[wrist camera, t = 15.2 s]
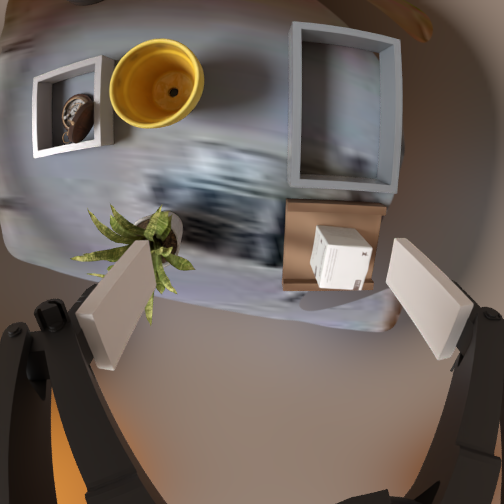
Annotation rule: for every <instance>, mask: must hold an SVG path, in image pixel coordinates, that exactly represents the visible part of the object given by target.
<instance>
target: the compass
mask: <svg viewBox="0 0 504 504" xmlns="http://www.w3.org/2000/svg"><path fill="white" fill-rule="evenodd" d="M62 123H63V125H64V128H65V129H66V130H67V131H68V132H65V133H67V134H66V135H67V136H68V139H69V142H70V141H71V142H73V143H75V144H76V143H78V142H81V141H82V140H83V139H84V138H85V137H86V136H87V135H88V133H89V132H90V130H91V128H92V127H93V124H94V102H93V101H92V99H91V98H90V97H89V96H87V95H85V94H77V95H74V96H72V97H71V98H70V99H69V100H68V101H67V102H66V104H65V105H64V107H63V111H62ZM65 133H64V134H65ZM64 134H63V137H64ZM63 137H62V139H63ZM63 142H64V140H63ZM69 142H67V143H69ZM64 143H66V142H64ZM67 143H66V144H67Z"/></svg>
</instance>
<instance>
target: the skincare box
mask: <svg viewBox="0 0 504 504" xmlns="http://www.w3.org/2000/svg"><path fill="white" fill-rule="evenodd" d="M372 250H373V248H372V247H371V246H370V244H369V243H368V242H367V241H366V240H365V239H364V238H363V237H362V236H361V235H360V233H359V232H358V231H357V230H356V229H354V228H343V227H333V226H323V225H317V226H316V233H315V239H314V245H313V251H312V255H311V259H310V265H311V267H312V270H313V272H314V275H315V278H316V280H317V283H318V285H319V288H328V289H348V290H362V287H363V284H364V281H365V278H366V274H367V272H368V268H369V263H370V259H371V254H372Z"/></svg>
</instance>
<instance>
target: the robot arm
mask: <svg viewBox="0 0 504 504" xmlns="http://www.w3.org/2000/svg"><path fill="white" fill-rule="evenodd" d="M67 1H69V2H71V3H73V4H75V5H90V4H94V3H97V2H100V1H102V0H67ZM386 283H387V284H388V286H389V287H390V289H391V290H392V292H393V293H394V294H395V296H396V297H397V299H398V300H399V302H400V303H401V304H402V306H403V307H404V309H405V310H406V312H407V313H408V315H409V316H410V318H411V319H412V321H413V322H414V324H415V325H416V327H417V328H418V330H419V331H420V333H421V334H422V336H423V338H424V339H425V340H426V342H427V344H428V345H429V347H430V349H431V350H432V352H433V353H434V355H435V357H436V358H437V360H441V359H445V358H450V357H451V356H452V354H453V352H454V350H455V347H457V348H458V349H459V351H460V353H459V355H458V357H457V359H456V361H455V363H454V365H453V367H452V368H451V370H450V371H451V372H452V371H453V369H454V372H453V377H452V381H451V385H450V388H449V392H448V396H447V399H446V402H445V406H444V409H443V412H442V415H441V418H440V421H439V424H438V427H437V430H436V433H435V436H434V438H433V441H432V443H431V446H430V449H429V451H428V454H427V456H426V458H425V461H424V463H423V465H422V467H421V470H420V472H419V474H418V476H417V478H416V480H415V482H414V484H413V486H412V487H411V489H410V490H409V491H408V492H407V494H406V495H405V496H404V498H403V497H393V496H389V492H388V490H387V489H386V490H382V491H378V492H374V493H370V494H366V495H361V496H356V497H351V498H349V499H346V500H344V501H342V502H339V503H337V504H491V502H492V499H493V495H494V492H495V488H496V485H497V481H498V477H499V473H500V468H501V459H500V457H497V456H494V450H495V445H496V440H497V434H498V428H499V421H500V428H501V444H502V483H501V504H504V319H503V318H502V316H501V315H500V313H498V312H497V311H496V310H494V309H492V308H489V307H482V308H481V307H480V306H479V305H478V304H477V303H476V302H475V301H474V300H473V299H472V298H471V297H470V296H469V295H468V294H467V293H466V292H465V291H464V290H462V288H461V287H460V286H459V285H458V284H457V283H456V282H455V281H453V280H451V279H450V278H448V277H447V276H446V275H445V274H444V273H443V272H442V271H441V270H440V269H439V268H438V267H437V266H436V265H435V264H434V263H432V262H431V260H429V259H428V258H427V257H426V256H425V255H424V254H423V253H422V252H421V251H420V250H419V249H418V248H416V247H415V246H414V245H413V244H412V243H411V242H410V241H409V240H407V239H406V238H394V243H393V249H392V254H391V260H390V265H389V270H388V274H387V279H386ZM156 286H157V285H156V280H155V275H154V269H153V264H152V258H151V252H150V245H149V240H136V241H135V242H134V243H133V244H132V245H131V246H130V247H129V248H128V250H127V251H126V252H125V253H124V254H123V255H122V256H121V258H120V259H119V260H118V261H117V262H116V263H115V265H114V266H113V267H112V268H111V269H110V270H109V272H108V273H107V274H106V275H105V276H104V278H103V279H102V280H101V281H100V282H99V284H94V285H92V286H91V287H89V288H88V289H86V291H85V292H84V293H83V294H82V295H81V297H80V298H79V299H78V300H77V302H76V303H75V304H74V305H73V306H72V308H71V309H70V310H69V311H68V313H67V310H66V307H65V305H64V302H63V301H62V300H60V299H50V300H47V301H45V302H43V303H41V304H40V305H39V306H37V308H36V309H35V311H34V315H35V318H36V320H37V322H38V324H39V327H40V329H41V331H35V332H30V330H29V328H28V326H27V325H26V323H23V322H18V323H13V324H11V325H10V326H8V328H7V329H5V331H4V332H3V335H2V337H1V341H0V504H57V498H56V491H55V483H54V476H53V464H52V448H51V388H53V392H54V396H55V400H56V404H57V408H58V411H59V414H60V418H61V421H62V424H63V428H64V431H65V434H66V436H67V439H68V442H69V445H70V448H71V451H72V453H73V456H74V458H75V461H76V463H77V466H78V468H79V471H80V473H81V475H82V478H83V480H84V482H85V484H86V487H87V491H88V492H87V493H86V494H85V499H86V501H87V504H167V503H166V502H165V500H164V499H163V498H162V496H161V495H160V493H159V492H158V491H157V489H156V488H155V486H154V485H153V484H152V482H151V480H150V479H149V477H148V476H147V474H146V473H145V471H144V470H143V468H142V467H141V465H140V463H139V462H138V460H137V458H136V457H135V455H134V453H133V452H132V450H131V448H130V446H129V445H128V443H127V441H126V440H125V438H124V436H123V434H122V432H121V430H120V428H119V427H118V424H117V423H116V421H115V419H114V417H113V415H112V413H111V411H110V409H109V406H108V404H107V402H106V400H105V398H104V396H103V394H102V392H101V389H100V387H99V385H98V382H97V380H96V378H95V375H94V373H93V370H92V368H91V366H90V363H91V361H92V359H93V358H94V360H95V362H96V364H97V367H98V368H101V369H108V370H115V368H116V366H117V363H118V361H119V359H120V357H121V355H122V353H123V351H124V349H125V347H126V344H127V342H128V340H129V338H130V336H131V334H132V332H133V330H134V328H135V326H136V324H137V322H138V320H139V318H140V316H141V314H142V312H143V310H144V308H145V307H146V305H147V303H148V301H149V299H150V297H151V295H152V293H153V291H154V289H155V288H156Z"/></svg>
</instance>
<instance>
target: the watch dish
mask: <svg viewBox="0 0 504 504" xmlns="http://www.w3.org/2000/svg"><path fill="white" fill-rule="evenodd" d="M114 63H115V60H113V59H110V58H108V57H105V56H103V55H100V56H97V57H93V58H90V59H86V60H83V61H80V62H76V63H73V64H70V65H67V66H64V67H61V68H58V69H56V70H53V71H50V72H48V73H45V74H42V75H40V76H37V77H35V78H34V80H33V100H32V133H33V154H34V158H38V157H43V156H47V155H52V154H57V153H62V152H68V151H73V150H79V149H85V148H91V147H98V146H104V145H111V144H114V131H113V106H112V103H111V100H110V81H111V77H112V74H113V72H114ZM93 71H95V79H94V140H90V141H84V142H78V143H76V144H75V143H73V144H68V145H63V146H58V147H52V84H53V83H56V82H59V81H62V80H66V79H69V78H72V77H75V76H79V75H82V74H86V73H89V72H93Z"/></svg>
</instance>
